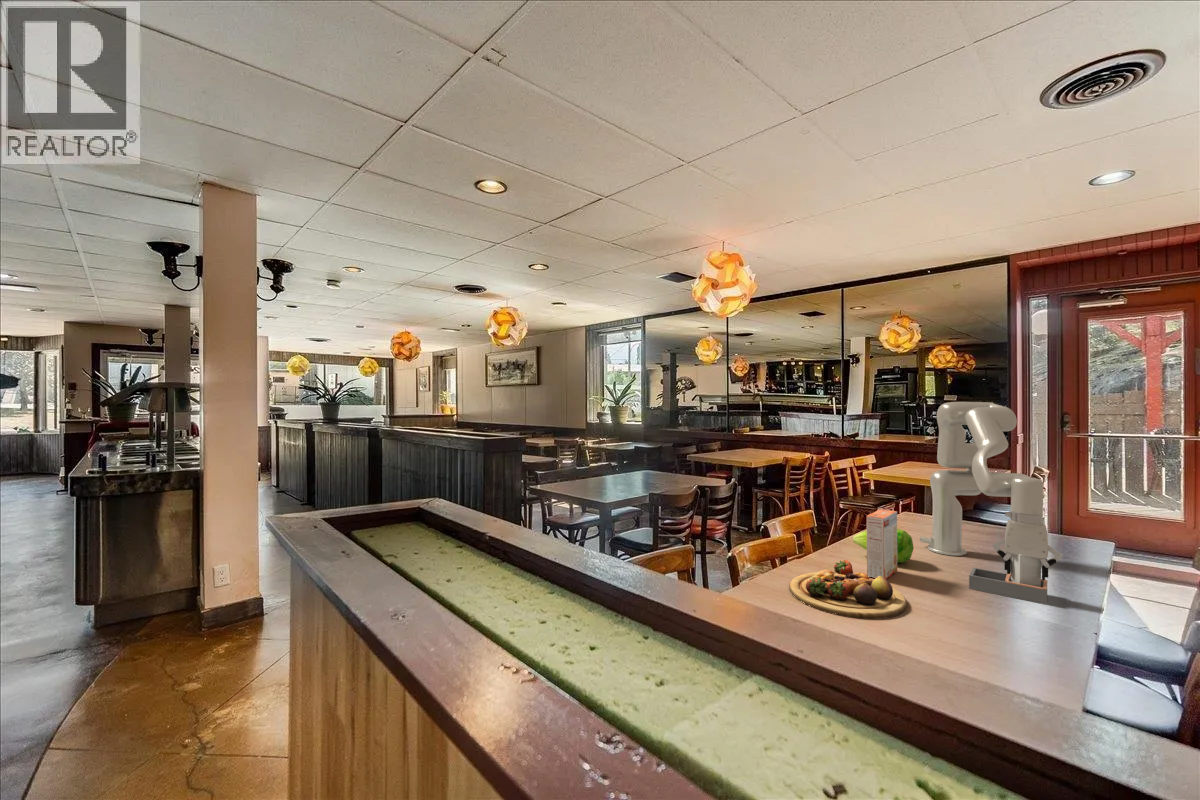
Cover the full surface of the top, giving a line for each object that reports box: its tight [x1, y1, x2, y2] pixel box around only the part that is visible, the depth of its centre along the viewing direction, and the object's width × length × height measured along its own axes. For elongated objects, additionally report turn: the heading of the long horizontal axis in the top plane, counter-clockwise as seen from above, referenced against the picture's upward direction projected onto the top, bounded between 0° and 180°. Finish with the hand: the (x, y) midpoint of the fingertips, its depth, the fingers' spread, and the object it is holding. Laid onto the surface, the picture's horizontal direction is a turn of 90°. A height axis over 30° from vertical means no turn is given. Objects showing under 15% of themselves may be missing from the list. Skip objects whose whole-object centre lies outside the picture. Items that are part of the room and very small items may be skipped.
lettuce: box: [852, 528, 915, 564], centre depth 191 cm, size 14×20×12 cm
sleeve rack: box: [968, 567, 1048, 605], centre depth 160 cm, size 18×10×4 cm, turn 48°
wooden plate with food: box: [788, 559, 907, 620], centre depth 156 cm, size 32×32×8 cm
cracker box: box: [865, 508, 898, 580], centre depth 175 cm, size 14×6×21 cm, turn 135°
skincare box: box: [1010, 554, 1042, 587], centre depth 157 cm, size 6×4×12 cm
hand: (1025, 575), depth 157 cm, fingers open, 7 cm apart
